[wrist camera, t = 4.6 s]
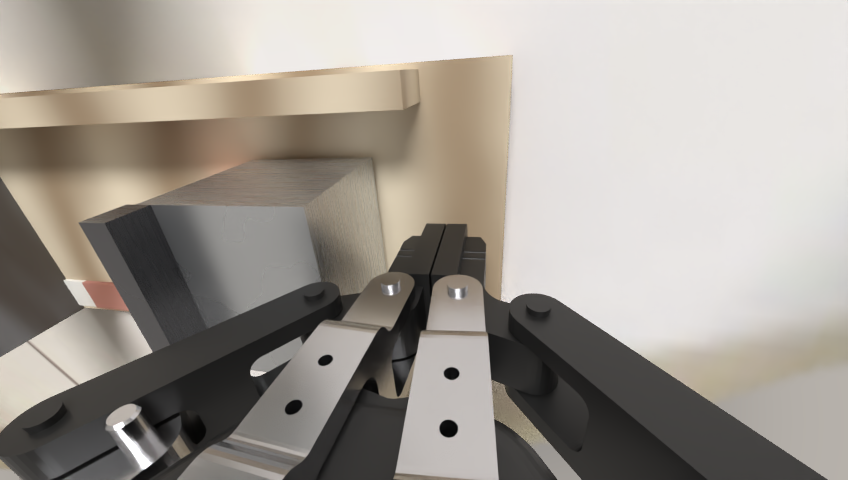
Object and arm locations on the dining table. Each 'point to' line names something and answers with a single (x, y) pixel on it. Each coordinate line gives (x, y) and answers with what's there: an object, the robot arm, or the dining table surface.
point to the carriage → (241, 244)
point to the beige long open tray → (240, 161)
